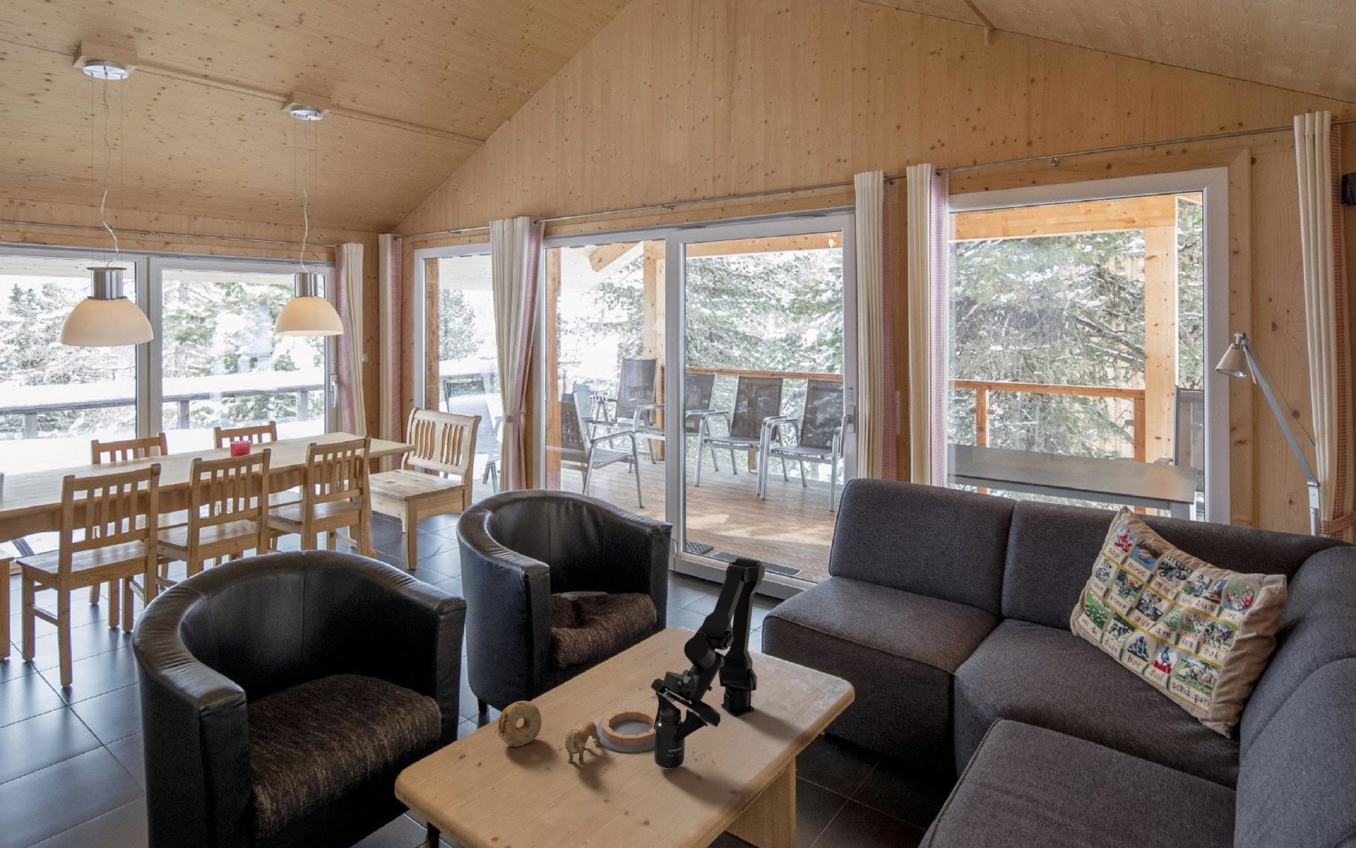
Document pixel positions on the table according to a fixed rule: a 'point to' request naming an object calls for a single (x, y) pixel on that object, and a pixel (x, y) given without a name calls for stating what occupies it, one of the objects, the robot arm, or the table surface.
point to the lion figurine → (580, 740)
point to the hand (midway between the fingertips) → (664, 735)
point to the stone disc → (526, 730)
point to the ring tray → (628, 731)
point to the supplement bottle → (668, 739)
